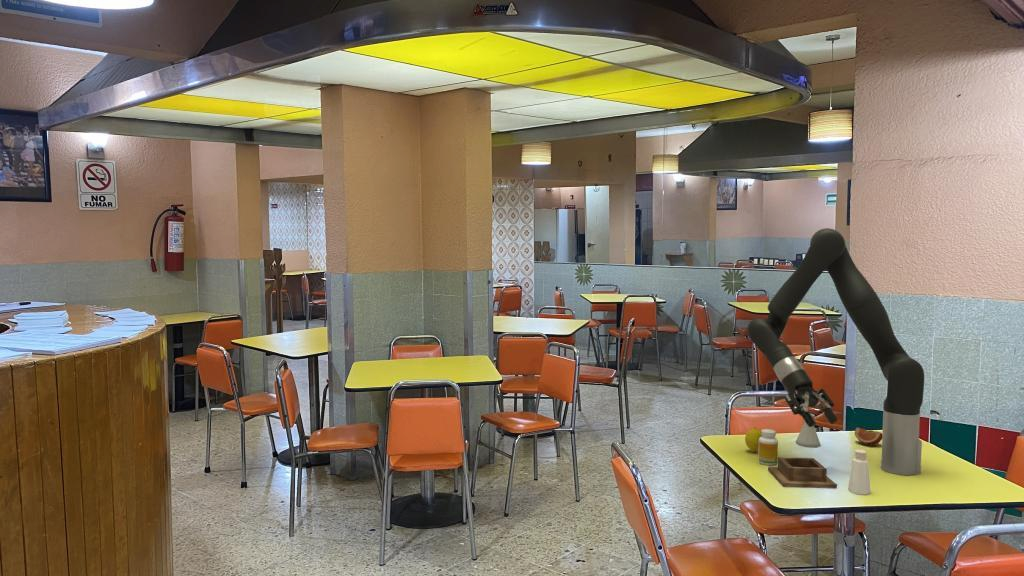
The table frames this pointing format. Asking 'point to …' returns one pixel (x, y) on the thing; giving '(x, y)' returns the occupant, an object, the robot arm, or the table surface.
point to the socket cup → (801, 473)
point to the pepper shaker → (860, 474)
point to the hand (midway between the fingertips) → (823, 423)
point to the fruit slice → (868, 436)
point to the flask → (808, 436)
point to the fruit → (753, 439)
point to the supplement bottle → (768, 448)
